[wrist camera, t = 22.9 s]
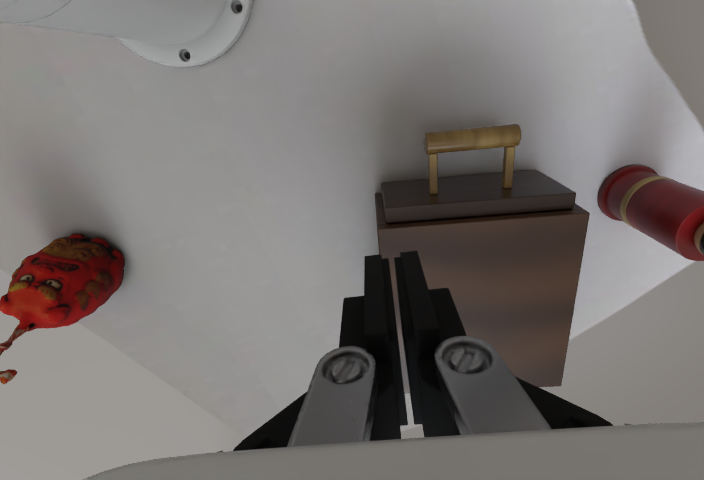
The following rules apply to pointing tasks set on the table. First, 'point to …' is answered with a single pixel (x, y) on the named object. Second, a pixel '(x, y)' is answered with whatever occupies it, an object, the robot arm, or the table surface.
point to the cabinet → (500, 281)
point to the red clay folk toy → (61, 285)
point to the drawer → (473, 183)
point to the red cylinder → (656, 208)
